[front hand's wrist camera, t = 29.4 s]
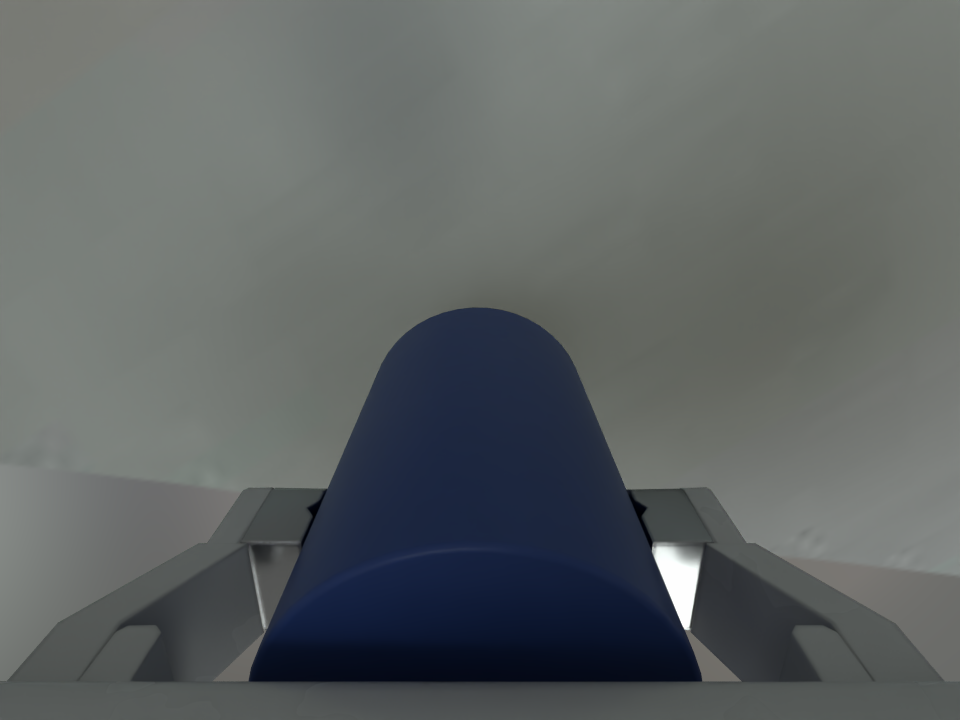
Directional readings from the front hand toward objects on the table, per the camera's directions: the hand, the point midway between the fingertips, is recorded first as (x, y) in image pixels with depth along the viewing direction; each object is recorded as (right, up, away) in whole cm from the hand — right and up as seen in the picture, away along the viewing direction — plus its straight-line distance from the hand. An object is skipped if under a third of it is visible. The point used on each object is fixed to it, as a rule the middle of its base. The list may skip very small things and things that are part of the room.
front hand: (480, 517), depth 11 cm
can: (0, +2, +4) cm, 5 cm away
